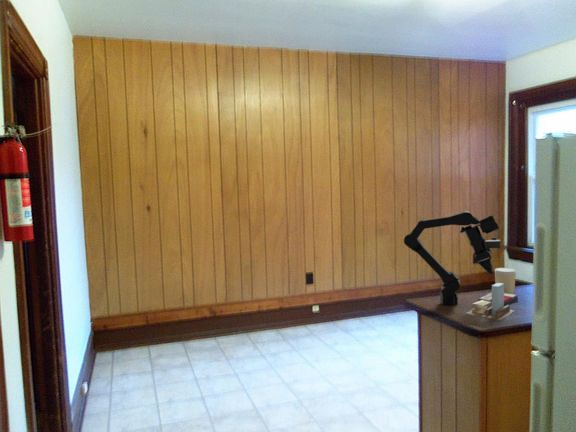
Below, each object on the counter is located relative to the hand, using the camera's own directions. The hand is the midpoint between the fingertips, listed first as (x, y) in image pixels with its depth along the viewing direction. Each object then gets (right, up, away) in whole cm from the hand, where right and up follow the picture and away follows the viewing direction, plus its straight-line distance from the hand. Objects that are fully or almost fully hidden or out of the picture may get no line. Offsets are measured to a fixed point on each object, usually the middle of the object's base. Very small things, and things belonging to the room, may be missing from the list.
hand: (491, 271), depth 196 cm
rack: (-3, -17, -5) cm, 18 cm away
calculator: (+7, -16, +10) cm, 20 cm away
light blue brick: (-1, -16, -7) cm, 18 cm away
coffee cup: (+17, -14, +25) cm, 33 cm away
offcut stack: (-5, -16, -3) cm, 17 cm away
